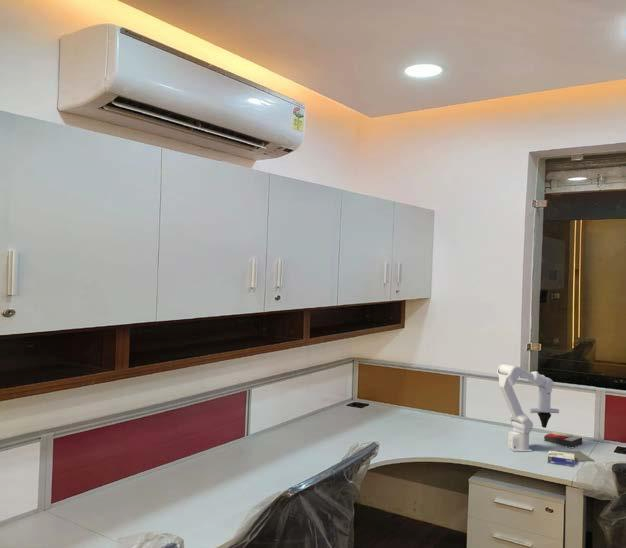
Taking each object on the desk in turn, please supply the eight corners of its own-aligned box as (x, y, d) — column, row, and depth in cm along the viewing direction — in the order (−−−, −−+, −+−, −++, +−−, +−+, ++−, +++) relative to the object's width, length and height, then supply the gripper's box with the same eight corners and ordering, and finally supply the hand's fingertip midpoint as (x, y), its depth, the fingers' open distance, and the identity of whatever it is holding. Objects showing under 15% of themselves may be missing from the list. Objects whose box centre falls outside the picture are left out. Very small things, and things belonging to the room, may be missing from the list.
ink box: (574, 453, 265) (574, 461, 255) (574, 458, 265) (574, 466, 255) (548, 449, 270) (547, 458, 260) (548, 454, 270) (547, 463, 260)
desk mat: (571, 461, 262) (571, 460, 262) (557, 451, 276) (557, 450, 276) (594, 461, 262) (594, 460, 262) (579, 452, 276) (579, 450, 276)
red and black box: (554, 430, 301) (582, 436, 289) (555, 439, 301) (582, 444, 289) (543, 434, 294) (571, 440, 283) (544, 442, 294) (572, 448, 282)
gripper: (533, 402, 282) (533, 429, 282) (562, 402, 282) (561, 429, 282) (527, 399, 289) (527, 425, 289) (555, 399, 289) (555, 425, 289)
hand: (544, 427), depth 286 cm, fingers closed
